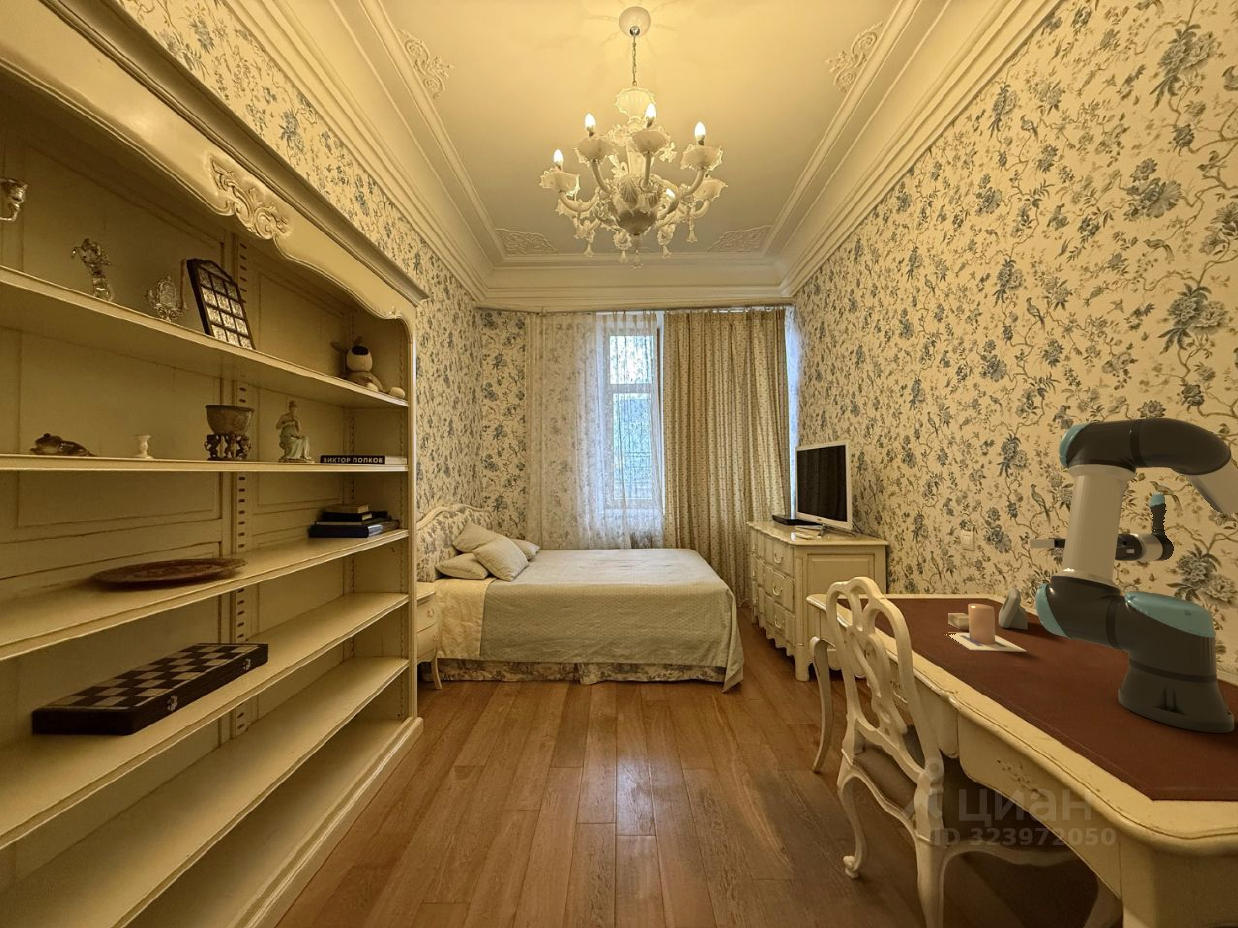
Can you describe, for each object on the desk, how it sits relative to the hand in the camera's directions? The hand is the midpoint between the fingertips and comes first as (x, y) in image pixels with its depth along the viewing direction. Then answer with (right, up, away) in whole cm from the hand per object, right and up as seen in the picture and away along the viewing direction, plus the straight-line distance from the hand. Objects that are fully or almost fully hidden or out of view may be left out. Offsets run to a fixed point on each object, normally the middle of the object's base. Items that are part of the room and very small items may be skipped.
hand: (1046, 547), depth 133 cm
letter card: (-16, -28, +3) cm, 33 cm away
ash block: (-12, -29, +16) cm, 35 cm away
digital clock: (+6, -29, +19) cm, 35 cm away
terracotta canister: (-16, -28, +3) cm, 32 cm away
